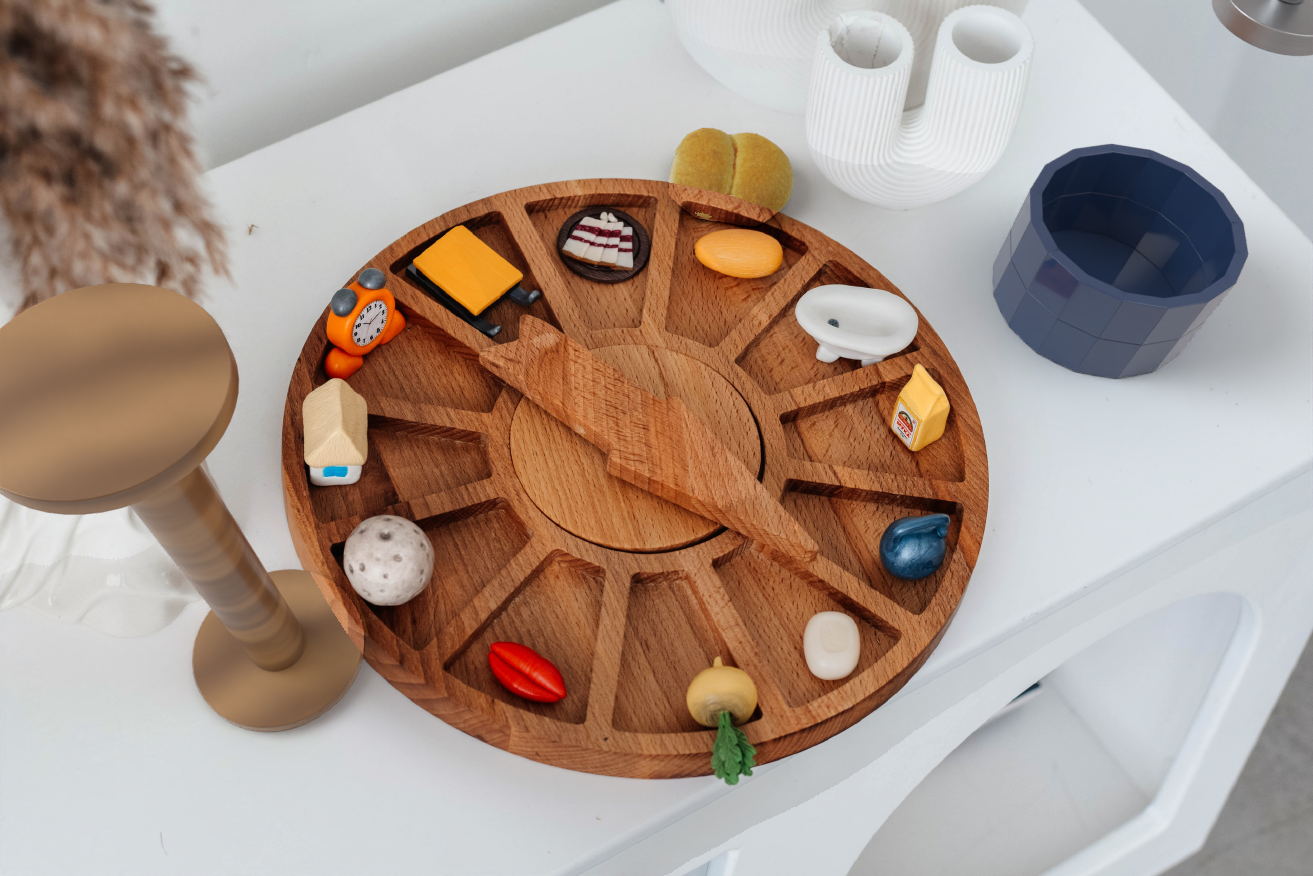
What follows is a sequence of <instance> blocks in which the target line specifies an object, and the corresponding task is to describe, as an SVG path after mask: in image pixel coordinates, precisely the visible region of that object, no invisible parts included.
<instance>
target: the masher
mask: <svg viewBox="0 0 1313 876" xmlns="http://www.w3.org/2000/svg"><path fill="white" fill-rule="evenodd" d="M1211 6H1212V11H1213V12H1214V14H1215V16H1216V18H1217V20H1218V22H1220V23H1221V24H1222V25H1223V27H1224V28H1225V29H1226V30H1227V31H1228V32H1230V33H1231V34H1232V35H1234V36H1235V37H1237V38H1238V39H1240V40H1241V41H1243V42H1245V43H1247V44H1249V45H1251V46H1252V47H1255V48H1257V49H1260V50H1263V51H1266V52H1270V53H1273V54H1278V55H1283V56H1289V57H1308V56H1313V0H1211Z"/></svg>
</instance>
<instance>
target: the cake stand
mask: <svg viewBox="0 0 1313 876" xmlns="http://www.w3.org/2000/svg"><path fill="white" fill-rule="evenodd" d="M239 390H240V375H239V368H238V363H237V360H236V357H235V354H234V351H233V350H232V348H231V346H230V344H229V342H228V339H227V338H226V335H225V333H224V332H223V329H222V328H221V326H220V325H219V324H218V322H217V321H216V320H215V318H214V317H213V316H212V315H211V314H210V313H209V312H208V311H207V310H206V309H205V308H204V307H202V306H201V305H199V304H198V303H197V302H195V301H194V300H192V299H191V298H189V297H188V296H187V297H186V296H185V295H183V294H181V293H179V292H176V291H174V290H170V289H168V288H166V287H160V286H157V285H152V284H147V283H146V284H145V283H137V282H110V283H109V282H107V283H100V284H94V285H88V286H83V287H78V288H75V289H72V290H68V291H65V292H62V293H59V294H57V295H54V296H51V297H49V298H47V299H45V300H43V301H41V302H40V301H39V302H38V303H36V304H34V305H32V306H31V307H29V308H27V309H26V310H24V311H22V312H21V313H19V314H18V315H16V316H14V317H13V318H12V319H10V320H9V321H8V322H6V323H5V324H4V325H3V326H1V327H0V495H1V496H3V497H4V498H6V499H8V500H10V501H11V502H13V503H15V504H18V505H20V506H22V507H26V508H27V509H30V510H33V511H38V512H43V513H46V514H54V515H63V516H84V515H93V514H103V513H107V512H112V511H116V510H121V509H124V508H127V507H130V508H131V509H132V511H133V512H134V513H135V514H136V516H137V517H138V519H140V521H141V522H142V523H143V524H144V525H145V527H146V528H147V529H148V531H149V532H150V533H151V535H152V536H153V537H154V538H155V539H156V541H157V542H158V543H159V545H160V546H161V547H162V548H163V550H164V551H165V552H166V553H167V555H168V556H169V557H170V559H172V561H173V563H174V564H175V565H176V566H177V567H178V569H179V570H180V572H181V573H182V574H183V575H184V576H185V578H186V579H187V580H188V581H189V583H190V584H191V585H192V586H193V588H194V589H195V590H196V591H197V593H198V594H199V595H200V596H201V598H202V599H203V600H204V601H205V603H206V604H207V606H208V607H209V608H210V610H209V611H208V613H207V614H206V615H205V617H204V619H203V621H201V624H200V626H199V628H198V631H197V633H196V636H195V639H194V643H193V647H192V656H191V657H192V658H191V666H192V674H193V679H194V683H195V685H196V687H197V690H198V692H199V694H200V695H201V697H202V698H203V700H204V702H205V703H206V704H207V706H209V708H211V710H212V711H214V712H215V713H216V714H217V715H218V716H219V717H221V718H222V719H223V720H224V721H227V722H228V723H229V724H231V725H234V726H236V727H239V728H242V729H245V730H249V731H255V732H262V733H263V732H265V733H266V732H267V733H268V732H279V731H288V730H291V729H294V728H298V727H300V726H303V725H305V724H308V723H311V722H312V721H313V720H316V719H317V718H319V717H321V716H322V715H323V714H325V713H326V712H329V711H330V709H332V708H333V707H334V706H335V705H336V704H338V703H339V701H340V700H341V699H342V698H343V697H344V696H345V695H346V694H347V692H348V691H349V690H350V688H351V687H352V685H353V684H354V682H355V680H356V678H357V676H358V675H359V672H360V670H361V666H362V664H363V660H364V656H363V654H362V652H361V650H359V649H358V647H357V646H356V645H355V643H354V642H353V641H352V640H351V638H350V637H349V635H348V634H347V633H346V631H345V630H344V628H343V627H342V625H341V623H340V622H339V621H338V619H337V617H336V616H335V614H334V613H333V611H332V610H331V607H330V606H329V604H328V603H327V601H326V599H325V598H324V595H323V594H322V592H321V590H320V588H318V585H317V584H316V582H315V580H314V579H313V577H312V575H311V573H310V572H311V571H309V570H304V569H295V568H293V569H287V568H286V569H277V570H272V571H268V570H267V569H266V567H265V566H264V564H263V563H262V561H261V560H260V557H259V556H258V555H257V553H256V551H255V550H254V548H253V546H252V545H251V544H250V541H249V540H248V538H247V537H246V535H245V533H244V532H243V531H242V529H241V527H240V525H239V524H238V522H237V521H236V520H235V518H234V516H233V514H232V513H231V511H230V509H229V508H228V507H227V504H226V503H225V502H224V500H223V499H222V498H221V496H220V494H219V492H218V491H217V489H216V487H215V485H214V484H213V482H212V481H211V479H210V478H209V476H208V474H207V473H206V471H205V470H204V468H203V466H202V465H201V464H202V463H203V462H204V461H205V460H206V458H208V456H210V454H211V453H212V452H213V451H214V450H215V448H216V447H217V445H218V444H219V443H220V442H221V440H222V438H223V437H224V435H225V434H226V431H227V429H228V428H229V426H230V423H231V422H232V420H233V416H234V414H235V411H236V408H237V403H238V398H239V392H240V391H239Z"/></svg>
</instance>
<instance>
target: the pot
mask: <svg viewBox="0 0 1313 876" xmlns="http://www.w3.org/2000/svg"><path fill="white" fill-rule="evenodd" d="M1248 257H1249V249H1248V243H1247V236H1246V230H1245V223H1244V222H1243V220H1242V219H1241V217H1240V216H1239V214H1238V213H1237V211H1236V209H1235V208H1234V206H1233V205H1232V203H1231V202H1230V200H1229V199H1228V197H1227V196H1226V195H1225V193H1224V192H1223V191H1222V190H1221V189H1219V188H1218V187H1217V186H1216V185H1214V184H1213V183H1211V181H1209V180H1208V179H1207V178H1205V176H1203V175H1201V173H1199V172H1198V171H1196V170H1195V169H1194V168H1192V167H1191V166H1190V165H1188V164H1186V163H1183V162H1180V161H1179V160H1176V159H1173V158H1171V157H1169V156H1166V155H1165V154H1162V153H1160V152H1158V151H1155V150H1153V149H1149V148H1141V147H1135V146H1130V145H1122V144H1116V143H1105V144H1098V145H1097V144H1096V145H1091V146H1084V147H1076V148H1073V149H1070V150H1069V151H1067V152H1065V153H1063V154H1062V155H1060V156H1058V157H1056V158H1055V159H1053V160H1051V161H1049V162H1048V163H1045V164H1044V165H1043V167H1042V169H1041V170H1040V172H1039V174H1038V175H1037V177H1036V179H1035V180H1034V182H1033V183H1032V185H1031V187H1030V188H1029V190H1028V193H1027V194H1026V197H1025V198H1024V201H1023V203H1022V205H1021V207H1020V209H1019V211H1018V213H1017V215H1016V217H1015V219H1014V221H1013V223H1012V225H1011V228H1010V230H1009V232H1008V233H1007V236H1006V238H1005V240H1004V242H1003V243H1002V245H1001V248H1000V250H999V252H998V254H997V256H996V259H995V260H994V263H993V266H992V294H993V298H994V300H995V303H996V305H997V307H998V310H999V312H1000V313H1001V314H1000V315H1002V317H1003V319H1004V320H1005V323H1006V324H1007V326H1008V328H1009V329H1010V330H1012V331H1013V333H1014V334H1015V335H1017V337H1018V338H1019V339H1020V340H1021V341H1022V342H1024V343H1025V344H1026V345H1027V346H1028V347H1029V348H1030V349H1031V350H1033V351H1034V352H1035V353H1036V354H1037V355H1039V356H1041V357H1042V358H1044V359H1046V360H1047V359H1048V360H1049V361H1051V363H1054V364H1055V365H1058V366H1061V367H1063V368H1065V369H1067V370H1070V371H1072V372H1074V373H1078V374H1084V375H1088V376H1092V377H1100V378H1108V379H1115V380H1117V379H1123V378H1132V377H1137V376H1138V377H1139V376H1142V375H1147V374H1152V373H1155V372H1156V371H1158V370H1159V369H1161V368H1162V367H1163V366H1165V365H1167V364H1168V363H1169V362H1170V361H1172V360H1174V359H1175V358H1176V357H1177V356H1179V355H1180V354H1181V353H1182V352H1183V350H1185V348H1186V347H1187V346H1188V345H1189V343H1190V342H1191V340H1193V338H1194V337H1195V335H1197V333H1198V332H1199V330H1200V329H1201V328H1203V326H1204V324H1205V323H1206V322H1207V321H1208V319H1209V318H1210V317H1211V315H1212V314H1213V313H1214V312H1215V310H1217V308H1218V307H1219V306H1220V304H1221V303H1222V302H1223V301H1224V299H1225V298H1226V297H1227V296H1228V294H1229V293H1230V292H1231V290H1232V289H1233V288H1234V287H1235V285H1236V284H1237V283H1238V281H1239V278H1240V276H1241V274H1242V271H1243V268H1244V266H1245V264H1246V262H1247V260H1248Z"/></svg>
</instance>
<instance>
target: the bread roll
mask: <svg viewBox="0 0 1313 876" xmlns="http://www.w3.org/2000/svg"><path fill="white" fill-rule="evenodd" d="M668 182H669V183H675V184H680V185H686V186H691V187H696V188H700V189H704V190H710V191H713V192H719V193H722V194H727V195H732V196H734V197H736V198H740V199H742V200H745V201H748V202H750V203H754V204H758V205H761V206H763V207H766V208H769V209H772V210H774V211H777V212H779V213H780V212H781V211H782V210H783V209H785V207H786V206H787V205H788V203H789V201H790V199H791V198H792V195H793V189H794V171H793V167H792V165H791V161H790V159H789V157H788V156H787V154H786V152H785V151H783V149H782V148H781V147H779V146H778V145H777V144H776V143H774V142H773V141H771V140H770V139H769V138H766V137H765V136H763V135H761V134H759V133H755V132H738V133H732V134H728V133H726V132H725V131H723V130H721V129H718V128H715V127H701V128H697V129H696V130H693V131H692V132H689V133H687V134H686V135H685V136H684V137H683V139H682V140H681V142H680V143H679V144H678V146H677V147H676V148H675V151H674V155H673V159H672V162H671V165H670V171H669V176H668V179H667V183H668ZM695 214H697V216H700V217H703V218H705V219H708V218H711V217H712V216H709V215H708V214H704V213H703V212H702V213H699V212H698V213H696V212H695Z"/></svg>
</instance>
